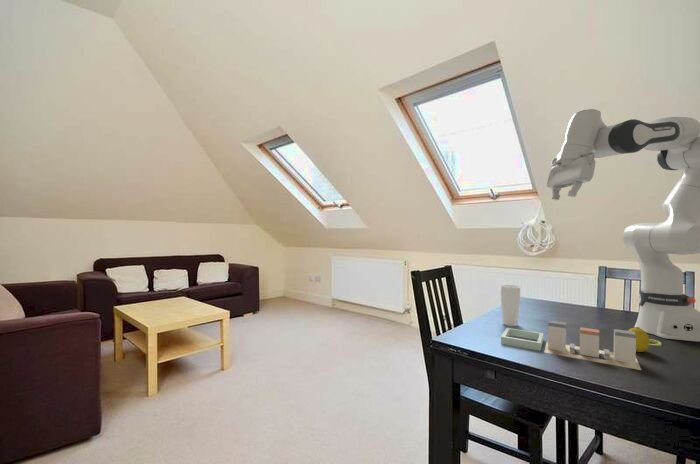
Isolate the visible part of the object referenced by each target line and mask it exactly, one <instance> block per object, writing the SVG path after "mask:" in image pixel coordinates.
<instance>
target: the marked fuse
mask: <svg viewBox="0 0 700 464" xmlns="http://www.w3.org/2000/svg"><path fill="white" fill-rule="evenodd" d="M579 347H580V350H579V355H581V356H586V357H592V358H598V359H600V353H599V350H600V330H599V329H596V328H589V327H588V328H587V327H582V326H581V327H579Z"/></svg>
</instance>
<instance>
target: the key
mask: <svg viewBox="0 0 700 464" xmlns="http://www.w3.org/2000/svg"><path fill="white" fill-rule="evenodd" d="M649 341H650V344H649V346H650V345H651V346H658V347H662V345H663V344H662V342H661V341H659V340H657V339H656V340H655V339H651V338H649Z"/></svg>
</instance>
